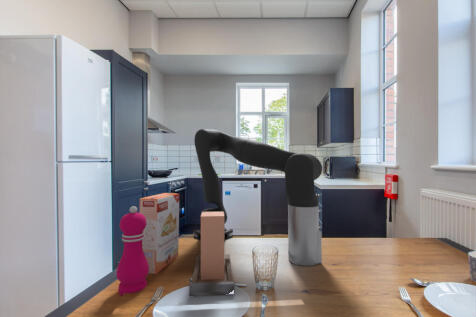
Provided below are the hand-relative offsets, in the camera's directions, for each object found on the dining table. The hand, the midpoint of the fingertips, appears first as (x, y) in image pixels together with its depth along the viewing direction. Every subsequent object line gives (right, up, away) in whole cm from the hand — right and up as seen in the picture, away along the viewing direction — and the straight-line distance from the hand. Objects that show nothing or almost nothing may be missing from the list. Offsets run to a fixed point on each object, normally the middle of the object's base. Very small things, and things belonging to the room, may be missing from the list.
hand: (212, 242), depth 71 cm
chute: (0, -8, -3) cm, 9 cm away
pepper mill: (-18, -8, -10) cm, 22 cm away
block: (0, -7, -3) cm, 8 cm away
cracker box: (-16, -9, +4) cm, 19 cm away
